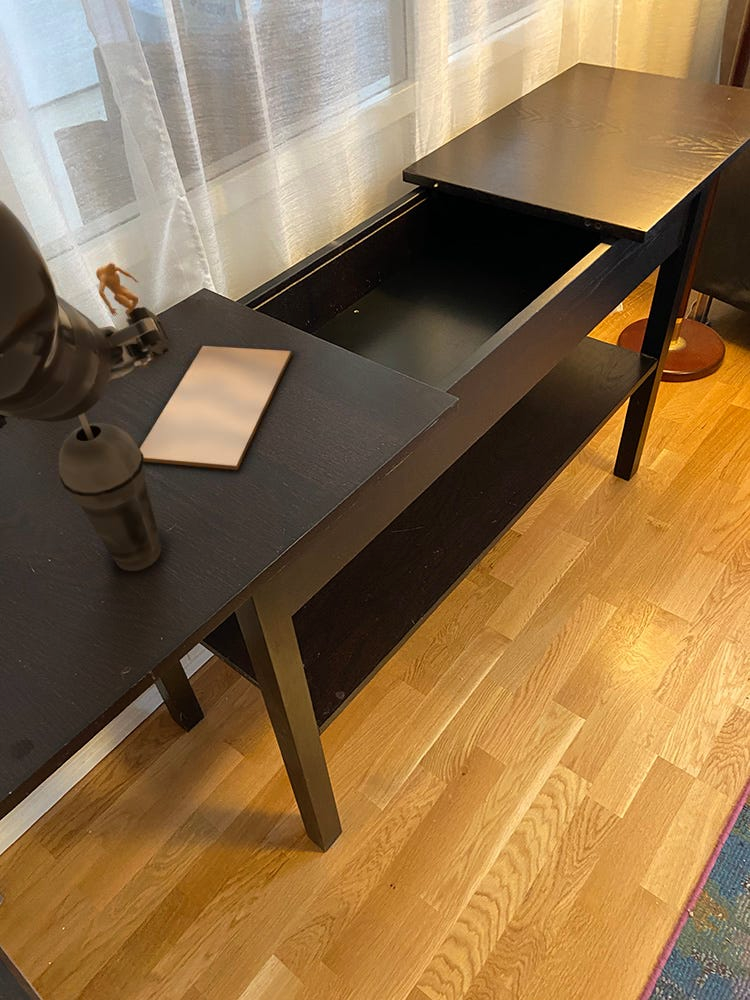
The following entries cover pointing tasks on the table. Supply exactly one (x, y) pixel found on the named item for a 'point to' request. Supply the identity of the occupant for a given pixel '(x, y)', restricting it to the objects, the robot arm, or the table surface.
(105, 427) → the beverage cup
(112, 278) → the figurine
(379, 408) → the table surface
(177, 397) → the tan rectangular board
